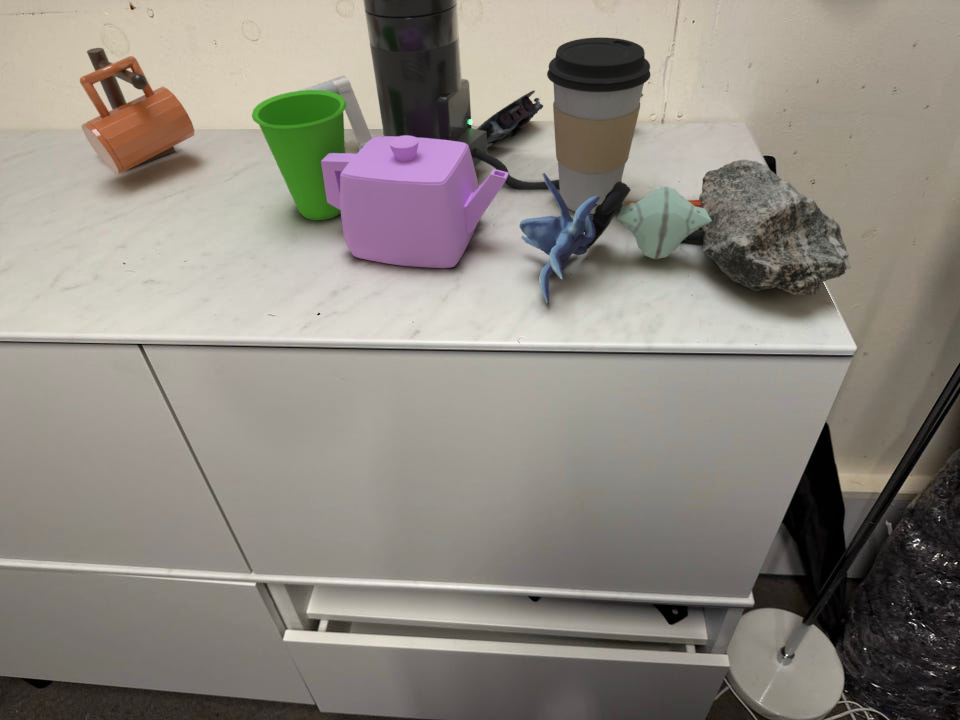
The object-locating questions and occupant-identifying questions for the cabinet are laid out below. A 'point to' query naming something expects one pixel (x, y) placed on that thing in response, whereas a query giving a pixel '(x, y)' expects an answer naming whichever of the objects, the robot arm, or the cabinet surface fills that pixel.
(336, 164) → the teapot
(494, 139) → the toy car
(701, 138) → the cabinet surface
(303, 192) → the cup
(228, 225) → the cabinet surface
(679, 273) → the cabinet surface
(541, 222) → the figurine
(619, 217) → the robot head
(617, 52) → the coffee cup
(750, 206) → the rock
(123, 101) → the mug stand
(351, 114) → the tablet stand
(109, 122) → the mug
